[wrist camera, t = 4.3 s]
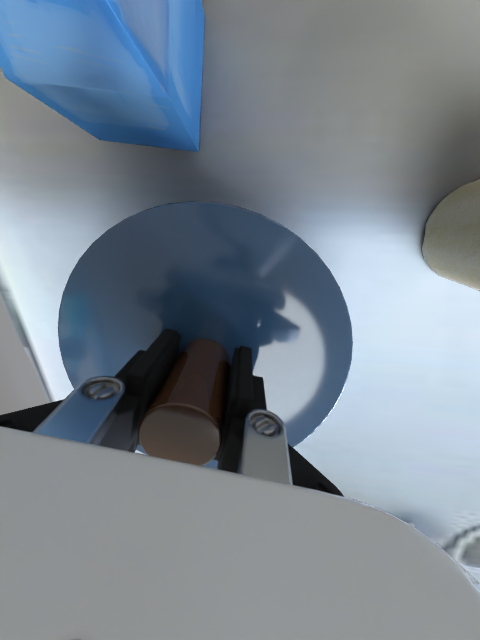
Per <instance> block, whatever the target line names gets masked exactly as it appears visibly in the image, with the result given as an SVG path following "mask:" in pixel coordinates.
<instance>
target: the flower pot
mask: <svg viewBox="0 0 480 640" xmlns="http://www.w3.org/2000/svg"><path fill="white" fill-rule="evenodd" d="M422 252H423V256H424V259H425V261H426V263H427V265H428V266H429V267H430V269H431V270H433V271H434V272H435V273H436V274H438V275H439V276H441V277H443V278H446V279H449V280H452V281H455V282H457V283H460V284H463V285H465V286H468V287H470V288H473V289H476V290H478V291H480V179H479V180H476V181H473V182H470V183H468V184H465V185H463V186H461V187H460V188H458V189H456V190H454V191H453V192H452V193H450V194H449V195H448V196H446V197H445V198H444V199H443V200H442V201H441V202H440V203H439V204H438V206H437V207H436V208H435V209H434V211H433V212H432V214H431V215H430V217H429V219H428V221H427V223H426V231H425V237H424V242H423V246H422Z"/></svg>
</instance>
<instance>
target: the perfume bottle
mask: <svg viewBox="0 0 480 640" xmlns="http://www.w3.org/2000/svg"><path fill="white" fill-rule="evenodd" d="M204 28H205V16H204V11H203V5H202V0H0V67H1V69H2V71H3V73H4V75H5V77H6V78H7V79H8V80H10V81H11V82H13V83H14V84H16V85H17V86H19V87H20V88H22V89H23V90H25V91H26V92H28V93H29V94H31V95H32V96H34V97H35V98H37V99H38V100H40V101H41V102H43V103H44V104H46V105H48V106H49V107H51V108H52V109H54V110H55V111H57V112H58V113H60V114H61V115H63V116H64V117H66V118H67V119H69V120H70V121H72V122H73V123H75V124H76V125H78V126H79V127H81V128H82V129H84V130H85V131H87V132H88V133H90V134H91V135H93V136H95V137H96V138H98V139H99V140H104V141H113V142H121V143H129V144H138V145H146V146H154V147H162V148H171V149H179V150H187V151H196V152H199V138H200V116H201V94H202V72H203V50H204Z"/></svg>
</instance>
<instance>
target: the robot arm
mask: <svg viewBox="0 0 480 640" xmlns="http://www.w3.org/2000/svg"><path fill="white" fill-rule="evenodd" d="M180 340H181V335H180V334H178V332H177V331H176V330H171V329H167V328H165V329H164V331H163V332H162V333H161V334H160V335H159V336H158V337H157V339H156V340H155V341H154V342H153V343H152V344H151V345H150V347H149V348H148V349H147V350H146V351H143V350H139V351H138V352H137V353H136V354H135V355H134V356H133V357H132V358H131V359H130V360H129V361H128V362H127V363H126V364H125V365H124V367H123V368H122V369H121V370H120V371H119V372H118V373H117V374H116V375H115V376H114V377H113V376H96V377H92V378H89V379H87V380H85V381H83V382H82V383H81V384H79V385H78V386H77V387H76V388H75V389H74V390H73V391H72V392H71V393H70V394H69V395H68V396H67V397H66V398H65V399H64V400H60V401H56V402H52V403H48V404H44V405H40V406H36V407H32V408H28V409H24V410H20V411H16V412H12V413H8V414H4V415H0V640H480V593H479V591H478V590H477V589H476V587H475V586H474V585H473V583H472V582H471V581H470V580H469V578H468V577H467V576H466V575H465V573H464V572H463V571H462V570H461V568H460V567H459V566H458V565H457V564H456V562H455V561H454V560H453V559H452V558H451V557H450V556H449V555H448V554H447V553H446V552H445V551H444V550H443V549H442V548H441V547H440V546H439V545H438V544H437V543H435V542H434V541H433V540H431V539H430V538H429V537H427V536H426V535H425V534H423V533H422V532H420V531H419V530H417V529H416V528H414V527H413V526H411V525H409V524H408V523H406V522H404V521H402V520H400V519H399V518H397V517H395V516H393V515H392V514H390V513H387V512H385V511H383V510H380V509H378V508H376V507H374V506H371V505H369V504H366V503H363V502H360V501H357V500H354V499H350V498H346V497H344V496H343V495H342V493H341V492H340V491H339V490H338V488H337V487H336V486H335V485H334V484H333V483H331V482H330V481H329V480H328V479H327V478H326V477H325V476H324V475H323V474H321V473H320V472H319V471H318V470H317V469H316V468H315V467H314V466H313V465H311V464H310V463H309V462H308V461H307V460H306V459H305V458H304V457H303V456H301V455H300V454H299V453H298V452H297V451H296V450H295V449H294V448H293V447H291V446H290V445H289V444H288V443H287V435H286V428H285V425H284V423H283V421H282V420H281V419H280V418H279V417H278V416H277V415H276V414H274V413H272V412H270V411H268V410H267V406H266V398H265V389H264V381H263V377H259V376H254V375H253V368H252V348H249V347H245V346H240V348H235V351H234V355H233V359H232V363H231V366H230V374H229V383H228V391H227V399H226V408H225V416H224V424H223V436H222V443H221V447H220V450H219V451H218V453H217V455H216V456H215V457H214V458H213V460H216V461H218V467H217V469H213V468H208V467H204V466H199V465H194V464H189V463H184V462H179V461H174V460H169V459H164V458H159V457H154V456H149V455H144V454H139V453H134V452H135V450H136V448H137V447H138V445H141V444H140V442H139V437H138V428H139V424H140V421H141V419H142V417H143V416H144V414H145V412H146V410H147V409H148V407H149V405H150V403H151V402H152V400H153V398H154V396H155V395H156V393H157V391H158V389H159V388H160V386H161V384H162V382H163V381H164V379H165V377H166V375H167V374H168V372H169V370H170V368H171V367H172V365H173V363H174V361H175V360H176V358H177V356H178V351H179V345H180Z"/></svg>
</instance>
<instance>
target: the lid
mask: <svg viewBox="0 0 480 640" xmlns="http://www.w3.org/2000/svg"><path fill="white" fill-rule="evenodd" d="M165 328H167V329H171V330H176V331H177V332H178V334H180V335H181V340H180V345H179V351H178V356H177V358H176V360H175V361H174V363H173V365H172V367H171V368H170V370H169V372H168V374H167V375H166V377H165V379H164V381H163V382H162V384H161V386H160V388H159V389H158V391H157V393H156V395H155V396H154V398H153V400H152V402H151V403H150V405H149V407H148V409H147V410H146V412H145V414H144V416H143V417H142V419H141V421H140V424H139V428H138V437H139V442H140V444H141V445H138V447H137V448H136V450H138V451H140V452H142V453H144V454H146V455H149V456H154V457H159V458H164V459H169V460H174V461H179V462H184V463H189V464H194V465H199V466H204V467H208V468H213V469H217V467H218V461H216V460H213V458H214V457H215V456H216V455H217V453H218V451H219V450H220V447H221V443H222V436H223V424H224V416H225V408H226V399H227V391H228V383H229V374H230V366H231V363H232V359H233V355H234V351H235V348H240V346H245V347H249V348H252V368H253V375H254V376H259V377H263V381H264V389H265V398H266V406H267V410H268V411H270V412H272V413H274V414H276V415H277V416H278V417H279V418H280V419H281V420H282V421H283V423H284V425H285V428H286V435H287V443H288V444H289V445H290V446H291V447H294V446H296V445H297V444H299V443H300V442H302V441H303V440H304V439H306V438H307V437H308V436H309V435H310V434H312V433H313V432H314V431H315V430H316V429H317V428H318V427H319V426H320V425H321V424H322V422H323V421H324V420H325V419H326V418H327V416H328V415H329V414H330V412H331V411H332V409H333V408H334V407H335V405H336V403H337V401H338V399H339V397H340V395H341V394H342V391H343V389H344V386H345V383H346V381H347V378H348V374H349V369H350V365H351V360H352V346H353V340H352V327H351V321H350V317H349V312H348V308H347V305H346V302H345V299H344V297H343V294H342V292H341V289H340V287H339V285H338V284H337V282H336V280H335V278H334V277H333V275H332V273H331V271H330V270H329V268H328V267H327V266H326V265H325V263H324V262H323V261H322V260H321V258H320V257H319V256H318V255H317V253H316V252H315V251H314V250H313V249H311V248H310V247H309V246H308V245H307V244H306V243H305V242H304V241H303V240H302V239H301V238H300V237H298V236H297V235H295V234H294V233H293V232H291V231H290V230H288V229H287V228H285V227H284V226H283V225H281V224H279V223H277V222H275V221H273V220H271V219H269V218H267V217H265V216H263V215H261V214H259V213H256V212H253V211H250V210H247V209H244V208H241V207H237V206H232V205H227V204H222V203H216V202H196V201H191V202H181V203H171V204H166V205H162V206H158V207H154V208H150V209H147V210H144V211H142V212H140V213H137V214H135V215H133V216H130V217H128V218H126V219H124V220H123V221H121V222H120V223H118V224H116V225H115V226H113V227H112V228H110V229H108V230H107V231H106V232H105V233H104V234H103V235H101V236H100V237H99V238H98V239H97V240H96V241H95V242H93V243H92V245H91V246H90V247H89V248H88V249H87V251H86V252H85V253H84V254H83V255H82V257H81V258H80V259H79V261H78V263H77V264H76V266H75V268H74V269H73V271H72V273H71V274H70V276H69V279H68V282H67V284H66V287H65V289H64V292H63V295H62V300H61V304H60V309H59V320H58V336H59V347H60V351H61V356H62V360H63V364H64V367H65V369H66V372H67V375H68V378H69V380H70V382H71V384H72V386H73V388H74V389H75V388H76V387H77V386H78V385H79V384H81V383H82V382H83V381H85V380H87V379H89V378H92V377H96V376H113V377H114V376H115V375H116V374H117V373H118V372H119V371H120V370H121V369H122V368H123V367H124V365H125V364H126V363H127V362H128V361H129V360H130V359H131V358H132V357H133V356H134V355H135V354H136V353H137V352H138V351H139V350H143V351H146V350H147V349H148V348H149V347H150V345H151V344H152V343H153V342H154V341H155V340H156V339H157V337H158V336H159V335H160V334H161V333H162V332H163V331H164V329H165Z"/></svg>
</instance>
